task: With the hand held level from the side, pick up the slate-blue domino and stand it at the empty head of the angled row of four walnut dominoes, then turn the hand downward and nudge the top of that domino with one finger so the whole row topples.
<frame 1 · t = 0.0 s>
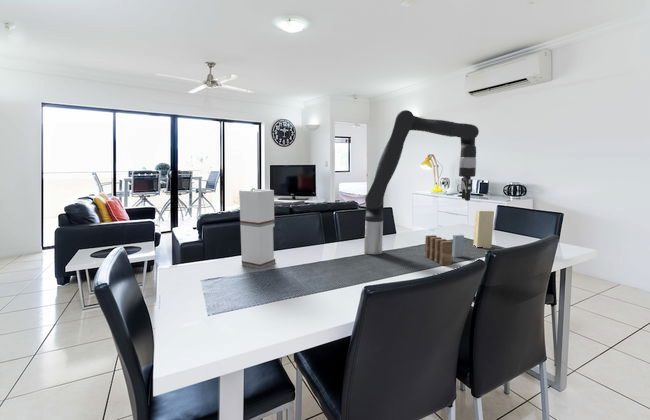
hand: (465, 199, 170), 29 cm above the table, tool pointing down, fingers open, 8 cm apart
white banded tower: (258, 264, 162), on the table
walnut domino 2: (435, 259, 169), on the table
walnut domino 3: (440, 261, 165), on the table
slate domino: (457, 256, 174), on the table
walnut domino 1: (430, 256, 174), on the table
walnut domino 4: (445, 264, 161), on the table
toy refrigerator: (482, 247, 195), on the table
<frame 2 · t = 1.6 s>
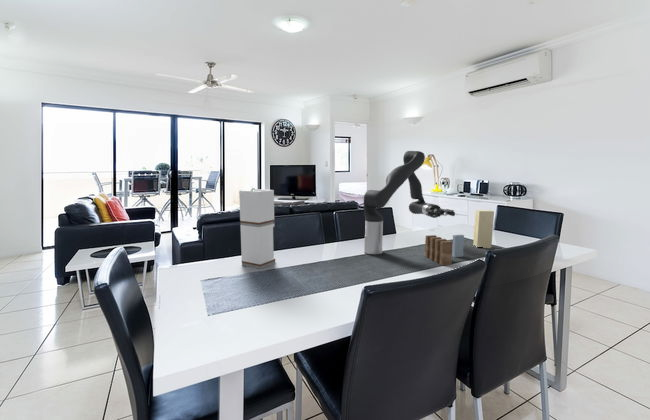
hand: (447, 214, 182), 20 cm above the table, tool horizontal, fingers open, 8 cm apart
nothing on the table moved.
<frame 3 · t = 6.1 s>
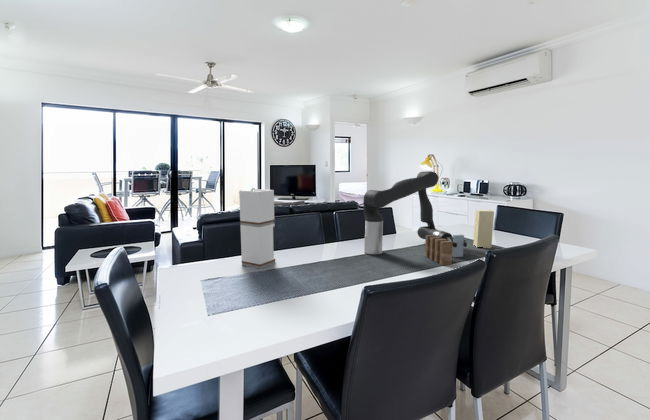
hand: (461, 245, 171), 7 cm above the table, tool horizontal, fingers closed on slate domino, 5 cm apart
slate domino: (457, 256, 174), on the table, touching gripper
everything else where it was.
when the fingers open (7 cm above the table, at t = 11.8 s): slate domino stays where it is, on the table.
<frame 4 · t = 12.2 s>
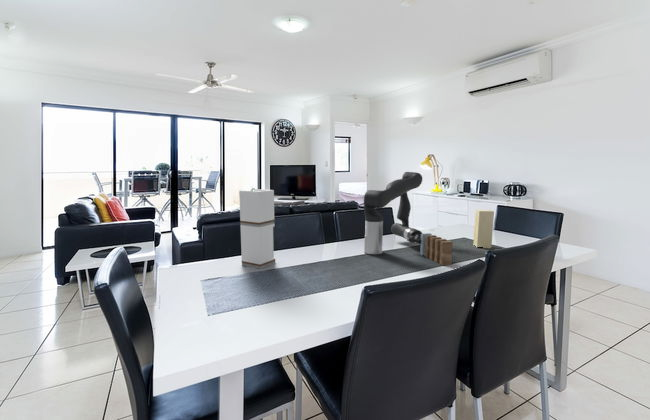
hand: (428, 241, 175), 7 cm above the table, tool horizontal, fingers open, 8 cm apart
slate domino: (425, 254, 178), on the table
everything else where it was.
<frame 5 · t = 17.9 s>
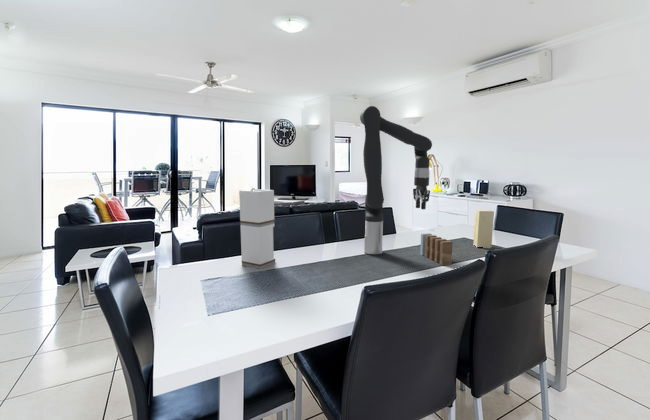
hand: (420, 208, 181), 23 cm above the table, tool pointing down, fingers open, 5 cm apart
nothing on the table moved.
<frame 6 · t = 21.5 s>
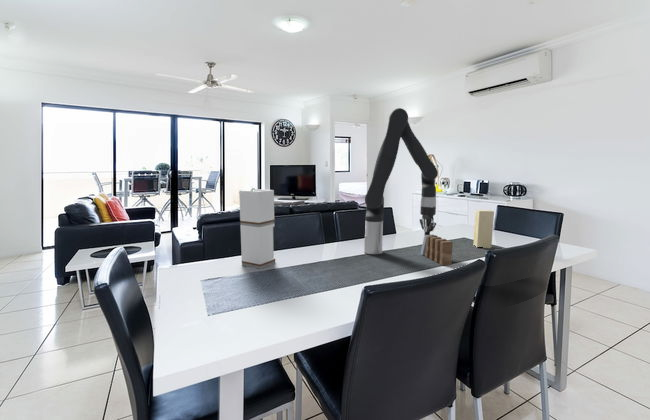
hand: (426, 238, 176), 9 cm above the table, tool pointing down, fingers closed
slate domino: (425, 254, 178), on the table, tilted 18°
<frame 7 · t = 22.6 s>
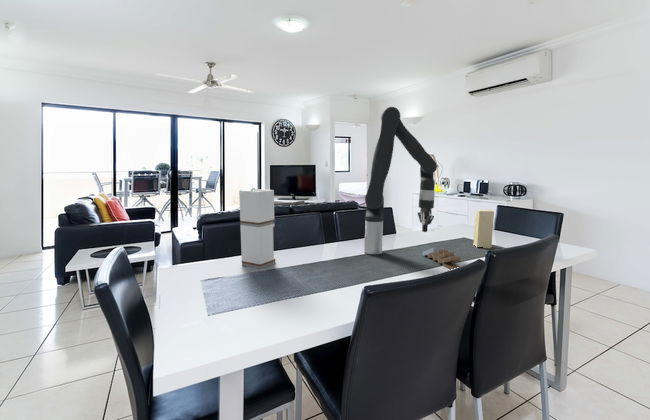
hand: (424, 231, 178), 12 cm above the table, tool pointing down, fingers closed
walnut domino 2: (437, 258, 167), point 1 cm above the table, tilted 65°, touching walnut domino 1, walnut domino 3
walnut domino 3: (442, 261, 163), point 1 cm above the table, tilted 68°, touching walnut domino 2, walnut domino 4
slate domino: (427, 253, 176), point 1 cm above the table, tilted 65°, touching walnut domino 1
walnut domino 1: (432, 256, 172), point 1 cm above the table, tilted 65°, touching slate domino, walnut domino 2
walnut domino 4: (447, 264, 159), on the table, tilted 90°, touching walnut domino 3
everything else where it was.
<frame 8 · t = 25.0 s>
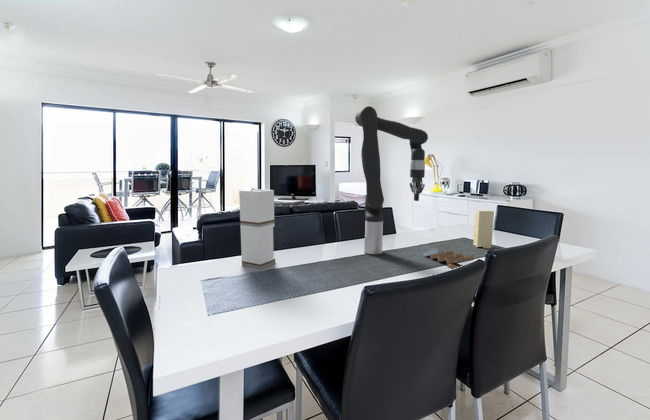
hand: (416, 200, 186), 27 cm above the table, tool pointing down, fingers closed
walnut domino 2: (441, 259, 165), point 1 cm above the table, tilted 66°, touching walnut domino 3
walnut domino 3: (449, 261, 160), point 1 cm above the table, tilted 67°, touching walnut domino 2
walnut domino 1: (433, 256, 170), point 1 cm above the table, tilted 67°, touching slate domino
walnut domino 4: (451, 265, 157), on the table, tilted 90°
at the end: walnut domino 4 tilted 90°; slate domino tilted 67°; slate domino 5.5 cm from the walnut domino 1 (horizontally) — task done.
